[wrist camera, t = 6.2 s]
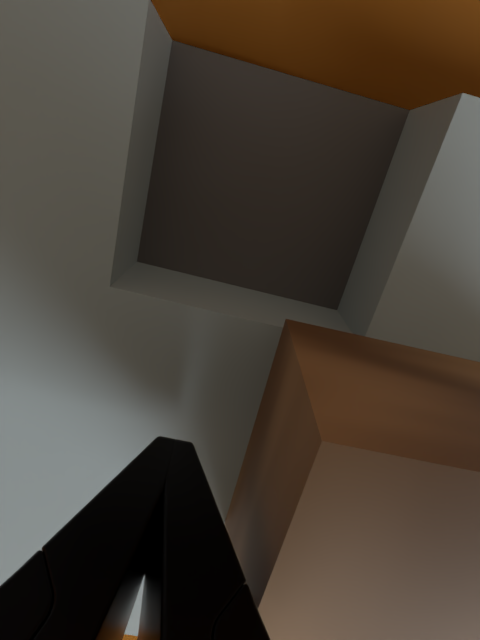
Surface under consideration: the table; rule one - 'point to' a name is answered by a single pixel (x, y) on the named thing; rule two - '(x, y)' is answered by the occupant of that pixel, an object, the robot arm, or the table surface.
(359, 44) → the table surface
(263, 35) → the table surface
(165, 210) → the deck
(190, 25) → the table surface
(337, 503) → the walnut block
